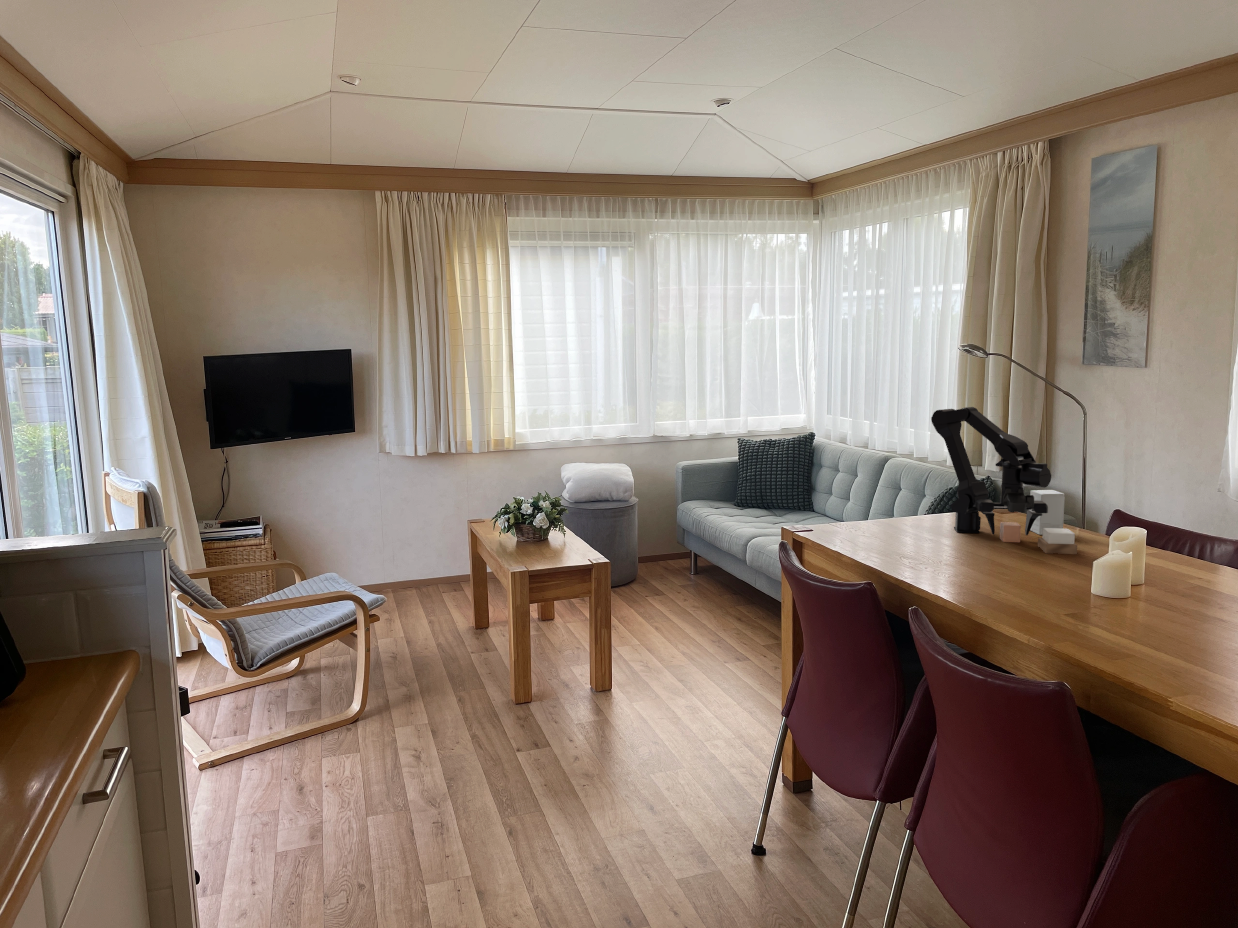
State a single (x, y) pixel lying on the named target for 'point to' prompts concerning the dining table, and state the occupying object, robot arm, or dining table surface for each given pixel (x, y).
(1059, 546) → the walnut slab
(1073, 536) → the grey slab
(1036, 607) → the dining table surface
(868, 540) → the dining table surface
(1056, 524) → the supplement box
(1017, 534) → the terracotta block
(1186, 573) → the dining table surface
